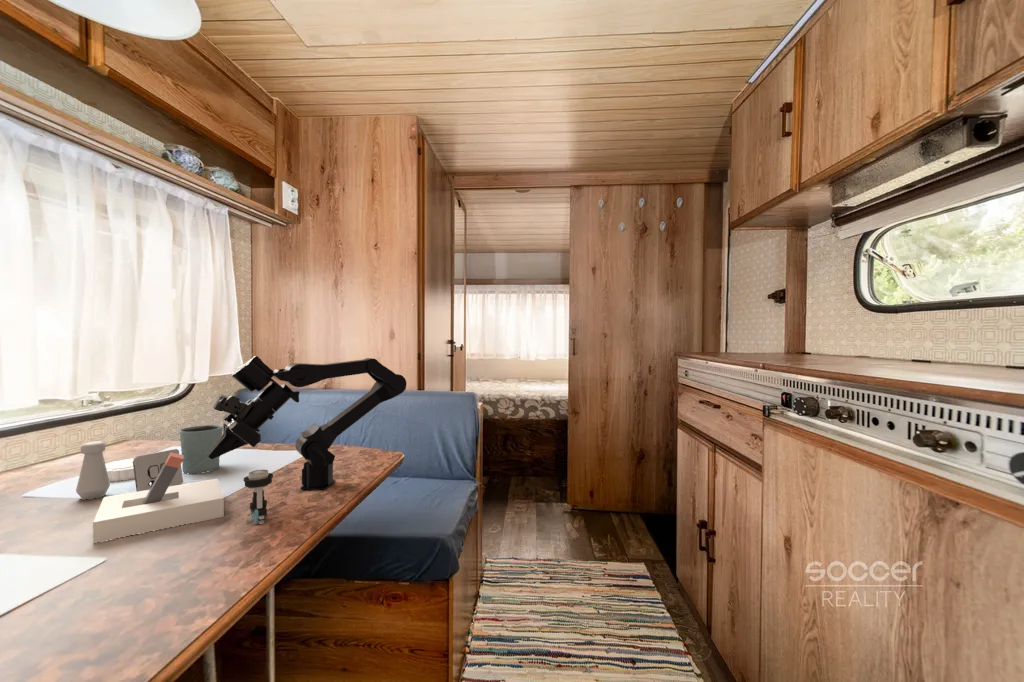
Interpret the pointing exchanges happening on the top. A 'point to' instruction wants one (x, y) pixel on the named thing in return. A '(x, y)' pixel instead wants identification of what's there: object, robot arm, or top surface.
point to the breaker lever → (164, 478)
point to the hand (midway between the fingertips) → (209, 457)
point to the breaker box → (157, 510)
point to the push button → (258, 493)
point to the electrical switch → (153, 469)
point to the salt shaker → (93, 472)
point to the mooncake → (120, 470)
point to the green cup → (199, 448)
